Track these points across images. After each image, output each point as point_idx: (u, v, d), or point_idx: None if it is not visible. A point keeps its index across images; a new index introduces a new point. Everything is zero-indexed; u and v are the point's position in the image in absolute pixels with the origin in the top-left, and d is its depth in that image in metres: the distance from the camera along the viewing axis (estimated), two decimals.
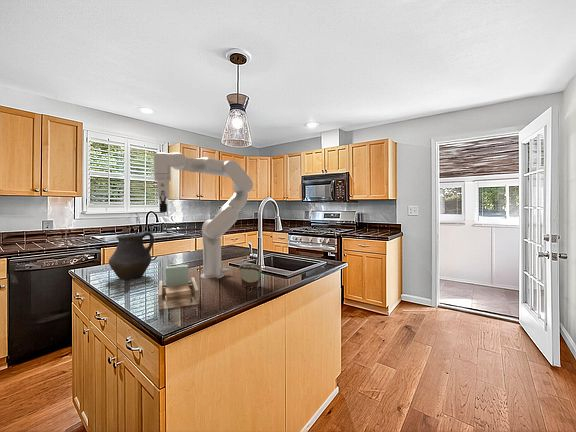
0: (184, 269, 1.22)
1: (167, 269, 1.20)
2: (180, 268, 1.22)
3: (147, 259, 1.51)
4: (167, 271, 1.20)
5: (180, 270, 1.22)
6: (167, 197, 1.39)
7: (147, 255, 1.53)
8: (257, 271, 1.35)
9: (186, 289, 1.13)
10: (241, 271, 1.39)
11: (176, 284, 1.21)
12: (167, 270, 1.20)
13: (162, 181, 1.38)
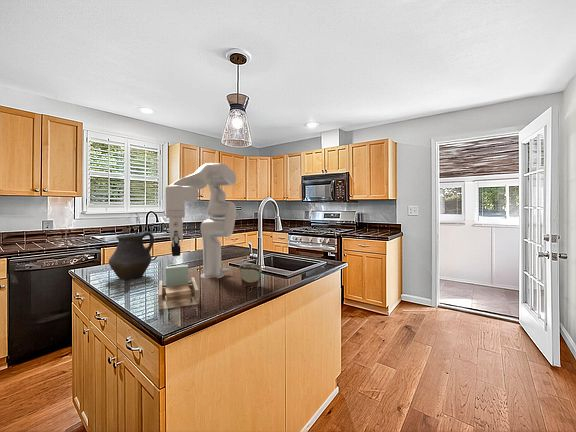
0: (184, 269, 1.22)
1: (167, 269, 1.20)
2: (180, 268, 1.22)
3: (147, 259, 1.51)
4: (167, 271, 1.20)
5: (180, 270, 1.22)
6: (181, 238, 1.17)
7: (147, 255, 1.53)
8: (257, 271, 1.35)
9: (186, 289, 1.13)
10: (241, 271, 1.39)
11: (176, 284, 1.21)
12: (167, 270, 1.20)
13: (175, 219, 1.17)
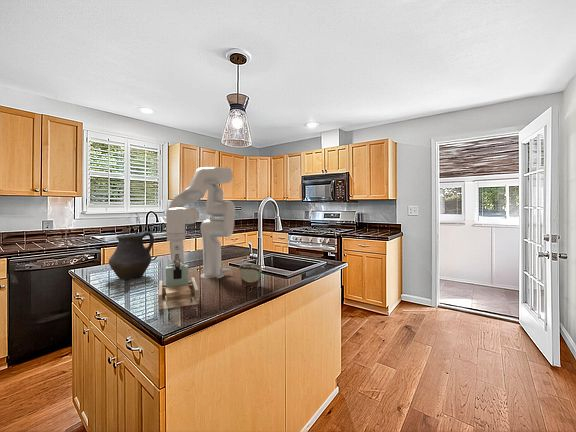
0: (184, 269, 1.22)
1: (167, 269, 1.20)
2: None
3: (147, 259, 1.51)
4: (167, 271, 1.20)
5: None
6: (182, 261, 1.18)
7: (147, 255, 1.53)
8: (257, 271, 1.35)
9: (186, 289, 1.13)
10: (241, 271, 1.39)
11: (176, 284, 1.21)
12: (167, 270, 1.20)
13: (176, 243, 1.17)
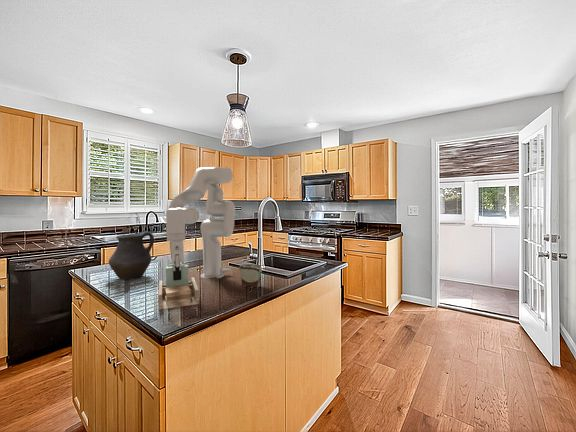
0: (184, 269, 1.22)
1: (167, 269, 1.20)
2: None
3: (147, 259, 1.51)
4: (167, 271, 1.20)
5: None
6: (182, 261, 1.18)
7: (147, 255, 1.53)
8: (257, 271, 1.35)
9: (186, 289, 1.13)
10: (241, 271, 1.39)
11: (176, 284, 1.21)
12: (167, 270, 1.20)
13: (176, 243, 1.17)
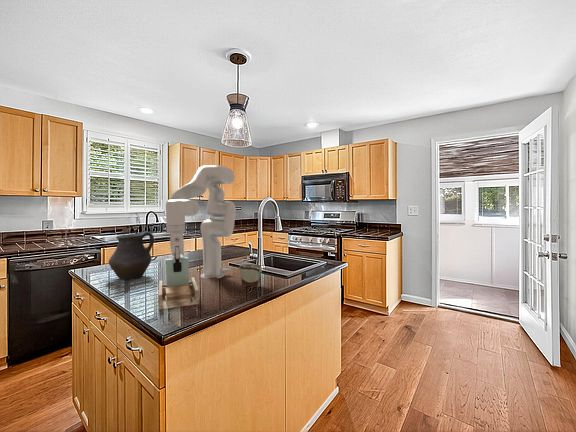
0: (184, 261, 1.22)
1: (167, 261, 1.20)
2: None
3: (147, 259, 1.51)
4: (167, 263, 1.20)
5: None
6: (182, 253, 1.18)
7: (147, 255, 1.53)
8: (257, 271, 1.35)
9: (186, 289, 1.13)
10: (241, 271, 1.39)
11: (176, 276, 1.21)
12: (167, 262, 1.20)
13: (176, 235, 1.17)
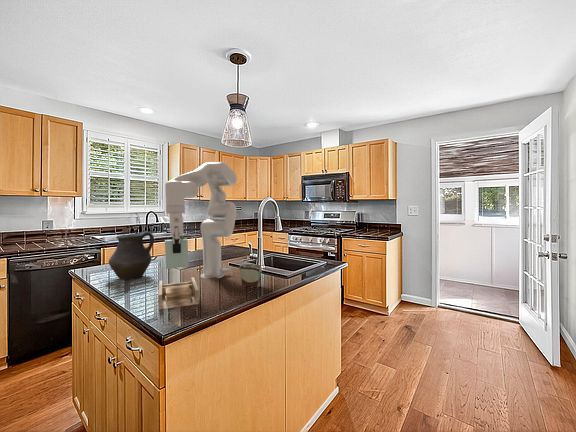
0: (183, 243, 1.22)
1: (166, 242, 1.19)
2: None
3: (147, 259, 1.51)
4: (166, 244, 1.19)
5: None
6: (181, 234, 1.18)
7: (147, 255, 1.53)
8: (257, 271, 1.35)
9: (186, 289, 1.13)
10: (241, 271, 1.39)
11: (176, 257, 1.21)
12: (166, 243, 1.19)
13: (176, 215, 1.17)
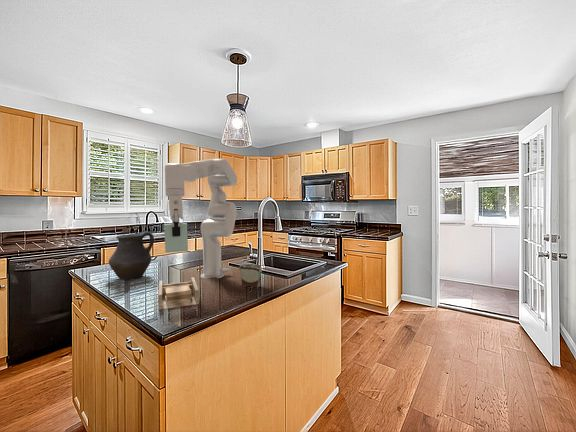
0: (183, 227, 1.21)
1: (166, 225, 1.18)
2: None
3: (147, 259, 1.51)
4: (166, 227, 1.18)
5: None
6: (181, 216, 1.17)
7: (147, 255, 1.53)
8: (257, 271, 1.35)
9: (186, 289, 1.13)
10: (241, 271, 1.39)
11: (175, 241, 1.20)
12: (166, 227, 1.18)
13: (175, 197, 1.16)
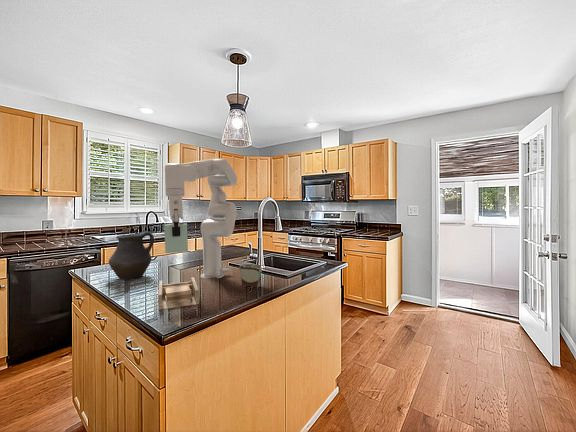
0: (183, 227, 1.21)
1: (166, 226, 1.18)
2: None
3: (147, 259, 1.51)
4: (166, 228, 1.18)
5: None
6: (181, 216, 1.17)
7: (147, 255, 1.53)
8: (257, 271, 1.35)
9: (186, 289, 1.13)
10: (241, 271, 1.39)
11: (175, 242, 1.20)
12: (166, 227, 1.18)
13: (175, 197, 1.16)
